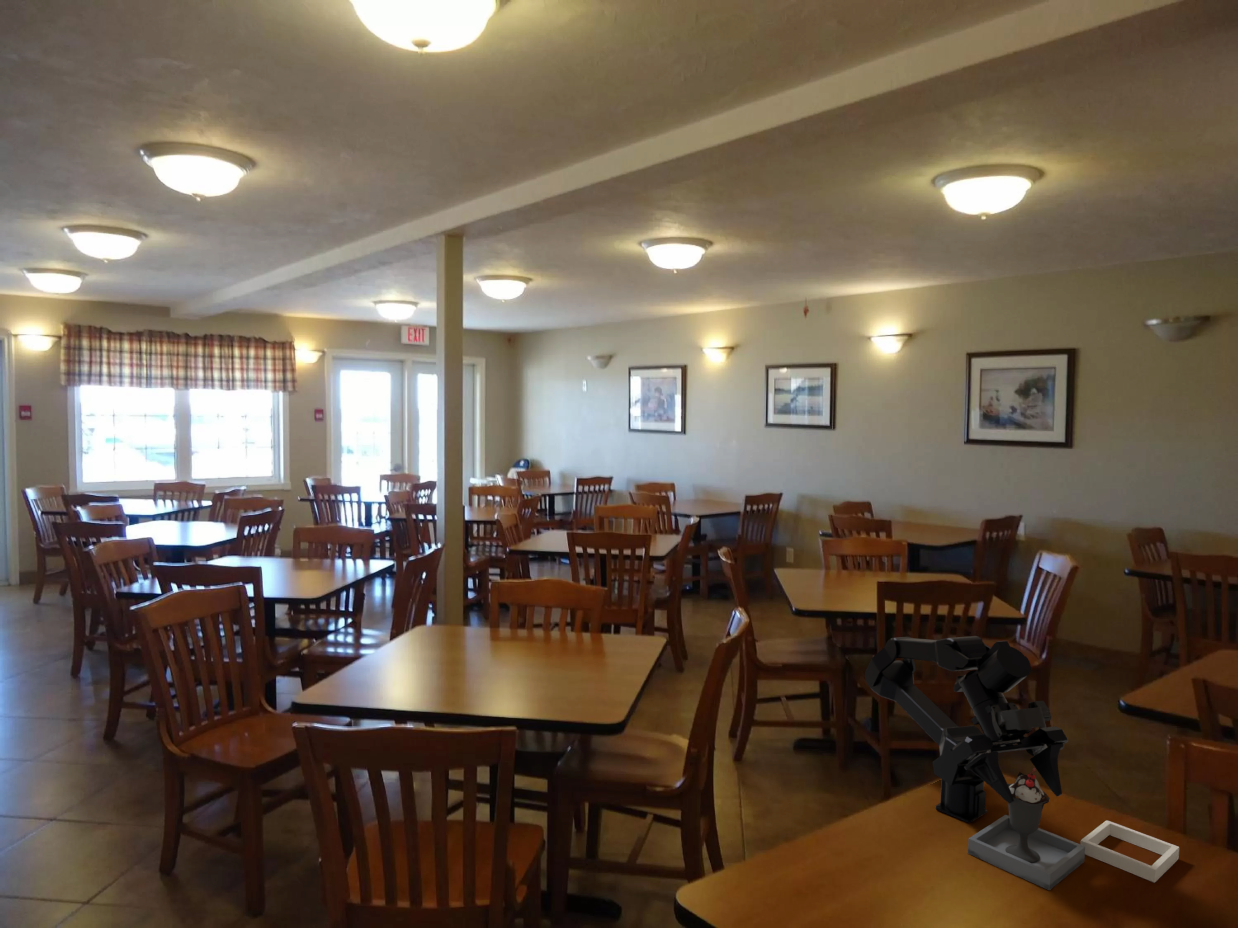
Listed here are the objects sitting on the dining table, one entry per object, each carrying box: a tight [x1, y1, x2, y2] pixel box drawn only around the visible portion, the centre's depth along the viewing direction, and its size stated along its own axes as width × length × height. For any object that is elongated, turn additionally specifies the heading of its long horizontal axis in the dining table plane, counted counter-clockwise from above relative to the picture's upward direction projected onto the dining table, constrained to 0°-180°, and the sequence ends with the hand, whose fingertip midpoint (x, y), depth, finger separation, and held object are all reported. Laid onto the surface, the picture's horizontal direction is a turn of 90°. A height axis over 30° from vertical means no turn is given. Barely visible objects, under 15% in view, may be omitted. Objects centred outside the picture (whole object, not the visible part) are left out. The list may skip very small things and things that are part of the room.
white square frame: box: [1079, 820, 1180, 884], centre depth 130 cm, size 11×11×2 cm
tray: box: [967, 814, 1086, 891], centre depth 129 cm, size 13×13×2 cm
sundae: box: [1005, 767, 1050, 863], centre depth 128 cm, size 7×7×15 cm
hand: (1035, 798), depth 127 cm, fingers open, 9 cm apart
